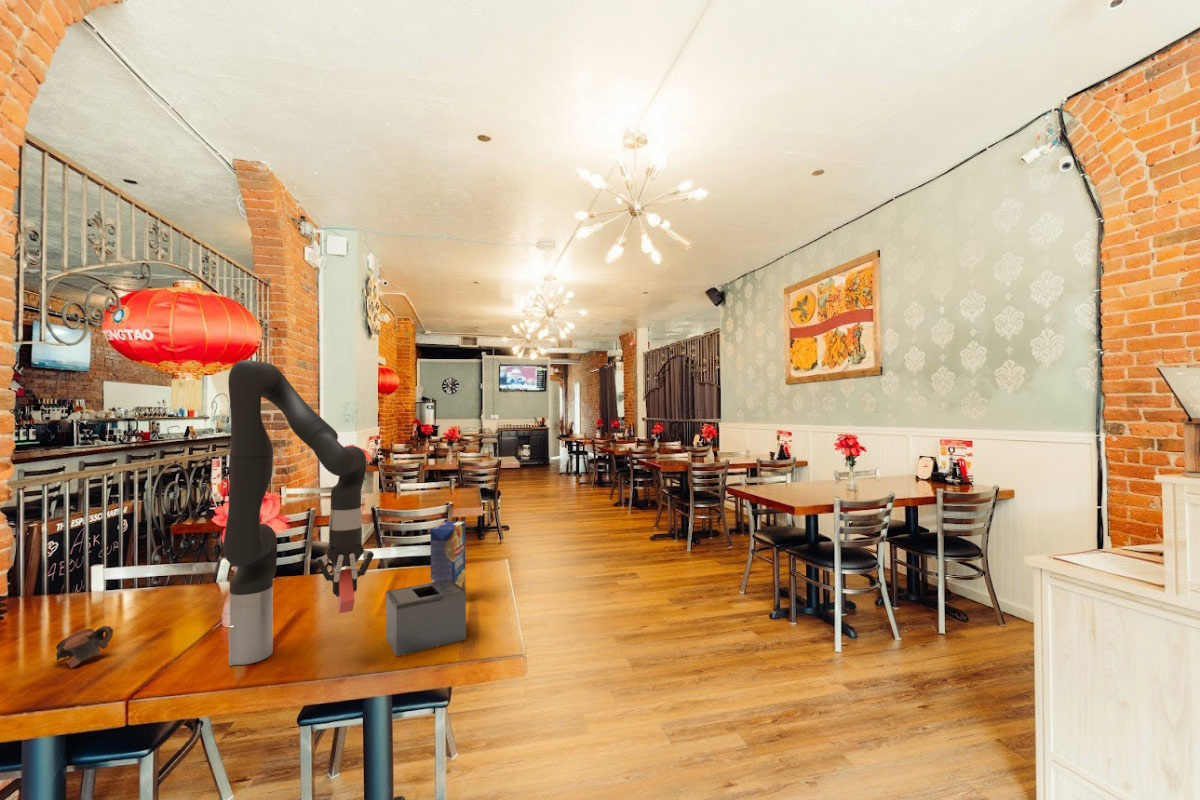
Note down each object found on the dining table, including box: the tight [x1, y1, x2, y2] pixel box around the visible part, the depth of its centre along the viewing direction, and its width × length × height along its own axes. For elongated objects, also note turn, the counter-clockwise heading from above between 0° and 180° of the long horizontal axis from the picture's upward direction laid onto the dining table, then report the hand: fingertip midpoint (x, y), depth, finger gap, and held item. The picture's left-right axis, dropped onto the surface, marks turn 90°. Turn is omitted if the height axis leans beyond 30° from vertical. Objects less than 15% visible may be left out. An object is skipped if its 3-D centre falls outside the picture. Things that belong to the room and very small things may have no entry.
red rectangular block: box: [337, 568, 356, 614], centre depth 135 cm, size 3×5×9 cm
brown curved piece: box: [55, 625, 114, 669], centre depth 136 cm, size 12×9×8 cm
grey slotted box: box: [385, 580, 467, 657], centre depth 146 cm, size 18×13×13 cm
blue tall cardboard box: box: [430, 520, 467, 593], centre depth 179 cm, size 12×8×24 cm, turn 175°
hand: (344, 594), depth 135 cm, fingers closed on red rectangular block, 2 cm apart
